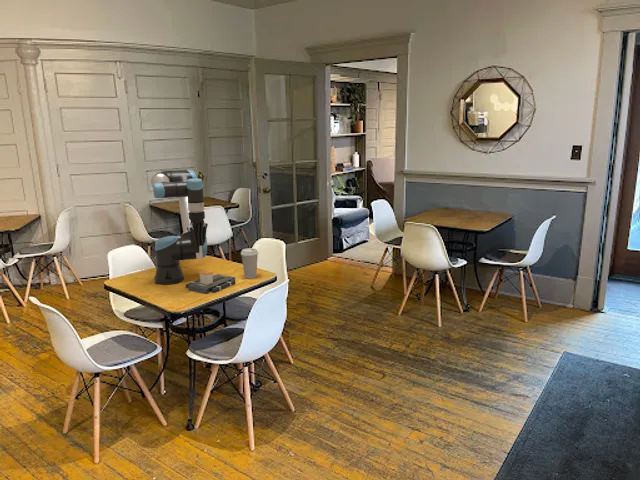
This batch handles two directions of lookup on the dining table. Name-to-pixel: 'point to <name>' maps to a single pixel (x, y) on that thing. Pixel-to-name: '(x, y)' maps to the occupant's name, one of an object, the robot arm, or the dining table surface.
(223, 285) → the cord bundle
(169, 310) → the dining table surface
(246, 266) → the coffee cup
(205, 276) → the lever
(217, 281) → the panel
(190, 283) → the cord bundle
